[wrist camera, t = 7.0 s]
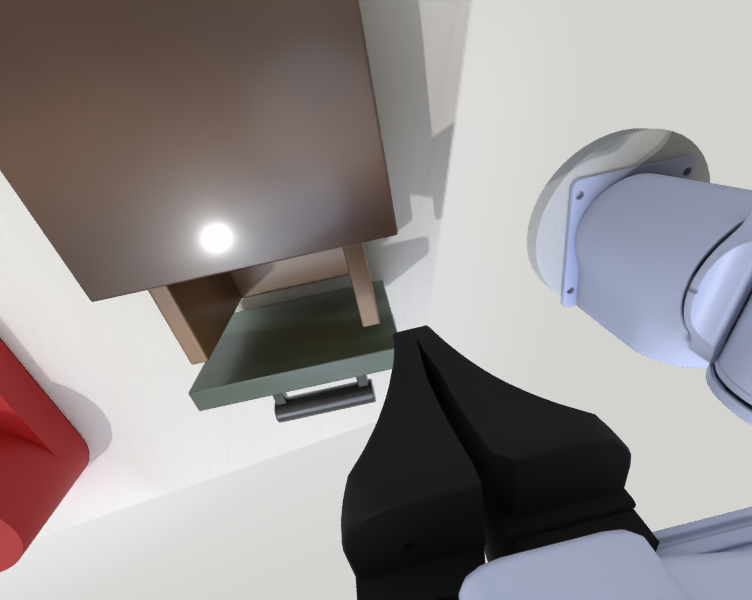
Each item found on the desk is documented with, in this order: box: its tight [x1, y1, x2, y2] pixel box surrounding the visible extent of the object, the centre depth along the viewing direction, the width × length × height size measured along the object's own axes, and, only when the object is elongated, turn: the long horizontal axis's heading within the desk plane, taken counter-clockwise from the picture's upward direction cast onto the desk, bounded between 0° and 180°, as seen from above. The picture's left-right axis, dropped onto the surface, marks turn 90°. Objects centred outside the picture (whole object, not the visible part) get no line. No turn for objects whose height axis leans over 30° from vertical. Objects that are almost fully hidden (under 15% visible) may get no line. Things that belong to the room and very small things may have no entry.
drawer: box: [148, 242, 397, 422], centre depth 17 cm, size 17×10×7 cm, turn 11°
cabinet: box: [0, 0, 397, 302], centre depth 13 cm, size 14×11×9 cm
